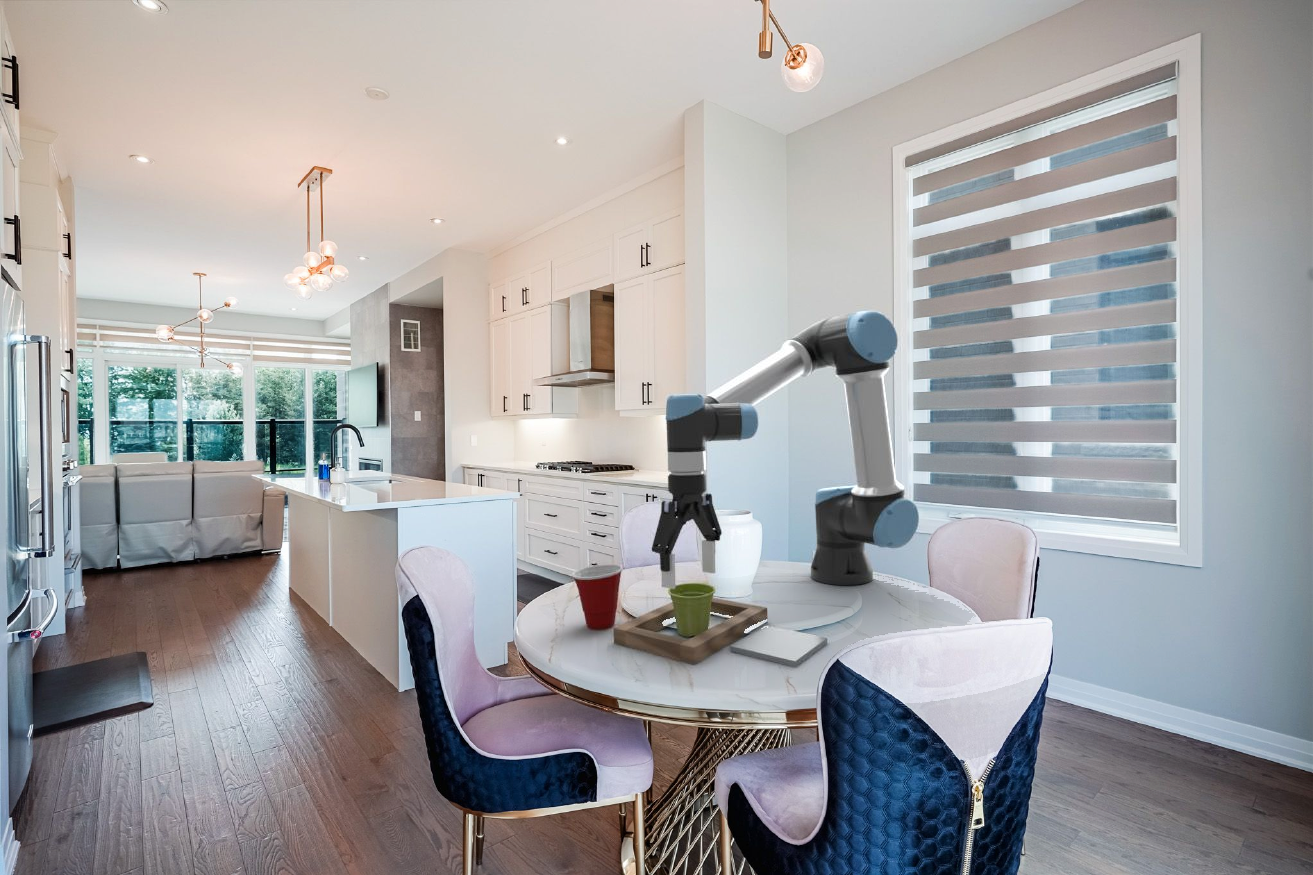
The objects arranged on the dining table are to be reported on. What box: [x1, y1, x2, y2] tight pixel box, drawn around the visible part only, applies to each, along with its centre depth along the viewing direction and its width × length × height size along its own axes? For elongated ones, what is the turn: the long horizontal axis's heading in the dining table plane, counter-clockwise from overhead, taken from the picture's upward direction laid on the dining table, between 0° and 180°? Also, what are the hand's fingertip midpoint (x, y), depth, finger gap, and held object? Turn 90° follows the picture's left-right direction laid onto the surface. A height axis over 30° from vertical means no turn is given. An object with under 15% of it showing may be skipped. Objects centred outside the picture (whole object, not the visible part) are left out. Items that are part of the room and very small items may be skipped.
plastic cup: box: [570, 563, 624, 631], centre depth 135 cm, size 11×11×12 cm
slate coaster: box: [729, 626, 828, 668], centre depth 119 cm, size 13×13×1 cm
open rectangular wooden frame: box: [612, 597, 768, 665], centre depth 128 cm, size 26×19×3 cm
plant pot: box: [667, 582, 716, 638], centre depth 128 cm, size 9×9×9 cm
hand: (689, 579), depth 128 cm, fingers open, 13 cm apart
